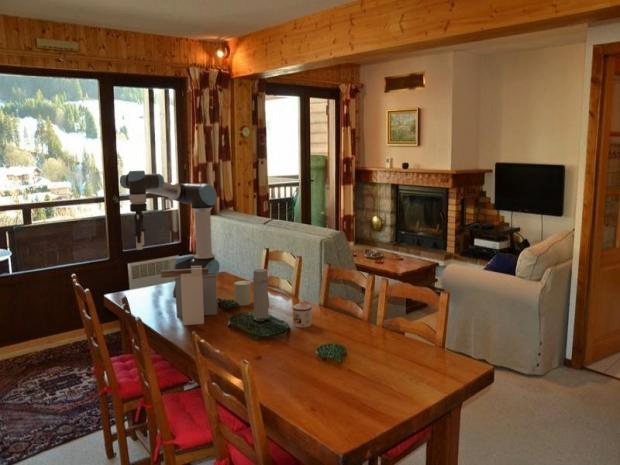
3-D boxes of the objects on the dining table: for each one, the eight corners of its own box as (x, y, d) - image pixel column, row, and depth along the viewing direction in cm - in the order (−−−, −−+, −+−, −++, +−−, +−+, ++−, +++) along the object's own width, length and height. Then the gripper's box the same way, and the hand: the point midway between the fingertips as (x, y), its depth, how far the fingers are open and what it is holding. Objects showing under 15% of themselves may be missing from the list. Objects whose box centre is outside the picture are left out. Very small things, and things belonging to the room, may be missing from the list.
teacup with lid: (288, 324, 257) (288, 300, 255) (304, 320, 262) (304, 297, 260) (303, 330, 247) (303, 306, 245) (319, 327, 252) (319, 303, 251)
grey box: (176, 313, 276) (175, 274, 273) (216, 310, 280) (214, 272, 277) (176, 317, 269) (174, 277, 266) (217, 314, 274) (215, 274, 271)
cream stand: (182, 319, 266) (180, 266, 262) (203, 317, 268) (201, 265, 264) (182, 325, 256) (180, 270, 252) (204, 323, 259) (202, 269, 255)
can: (250, 305, 289) (249, 283, 287) (233, 305, 289) (232, 283, 287) (252, 300, 298) (251, 279, 296) (235, 300, 298) (235, 279, 296)
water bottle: (262, 323, 258) (261, 272, 254) (250, 320, 263) (249, 270, 259) (274, 318, 265) (273, 269, 262) (262, 316, 270) (261, 267, 266)
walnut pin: (161, 276, 257) (161, 270, 257) (208, 273, 262) (207, 267, 262) (161, 277, 254) (160, 271, 254) (208, 275, 259) (208, 269, 259)
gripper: (132, 201, 265) (134, 243, 268) (127, 205, 241) (130, 252, 244) (147, 200, 267) (149, 242, 270) (144, 205, 243) (147, 251, 246)
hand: (140, 247), depth 257 cm, fingers open, 13 cm apart
